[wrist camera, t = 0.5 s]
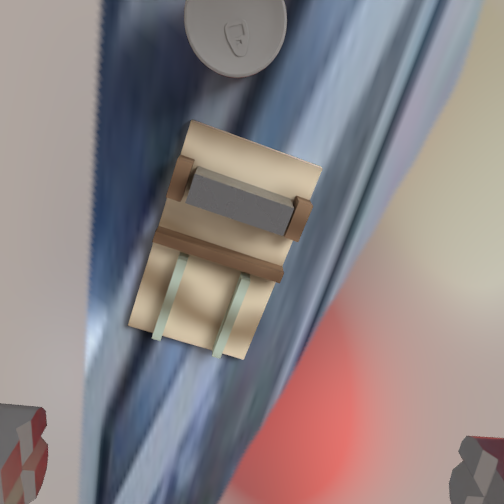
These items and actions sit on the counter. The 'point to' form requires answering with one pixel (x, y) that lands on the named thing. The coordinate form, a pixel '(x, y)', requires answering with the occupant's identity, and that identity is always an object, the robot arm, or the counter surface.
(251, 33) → the canned food
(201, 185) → the bar
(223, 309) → the lock board
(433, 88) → the counter surface
